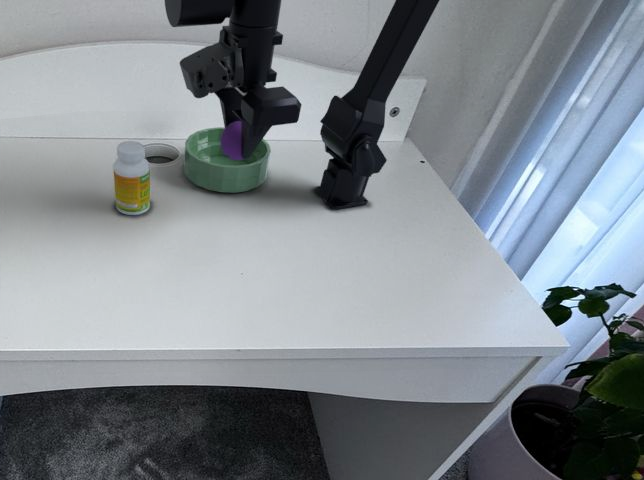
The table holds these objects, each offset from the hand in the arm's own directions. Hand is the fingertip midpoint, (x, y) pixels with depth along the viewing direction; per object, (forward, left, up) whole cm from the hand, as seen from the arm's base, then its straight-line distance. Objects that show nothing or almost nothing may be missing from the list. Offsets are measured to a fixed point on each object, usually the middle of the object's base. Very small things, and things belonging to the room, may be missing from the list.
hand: (237, 149), depth 70 cm
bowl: (-4, -13, -11) cm, 17 cm away
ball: (0, 0, +1) cm, 1 cm away
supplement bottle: (+14, -7, -11) cm, 19 cm away
